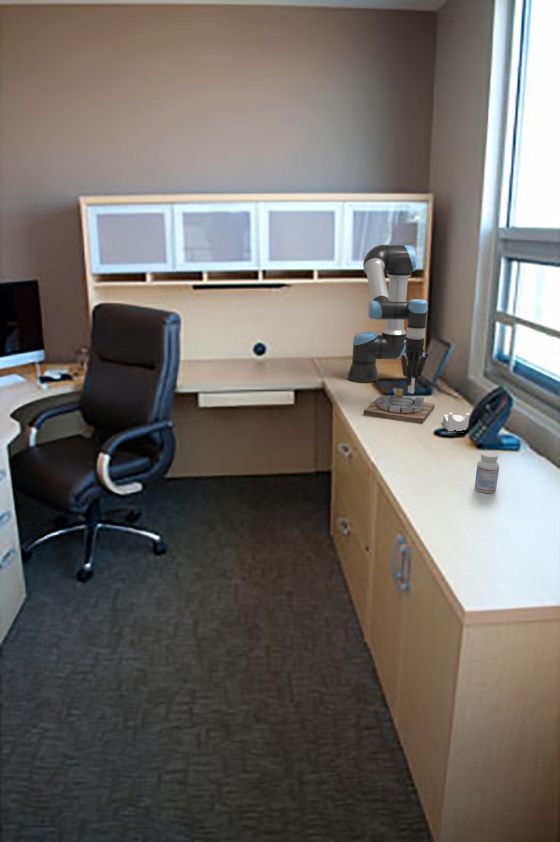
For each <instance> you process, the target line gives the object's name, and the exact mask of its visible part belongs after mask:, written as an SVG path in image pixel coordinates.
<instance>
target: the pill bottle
mask: <svg viewBox="0 0 560 842" xmlns="http://www.w3.org/2000/svg"><path fill="white" fill-rule="evenodd" d="M480 453H481V454H480V460H478V461H477V463H476V464H477V466H476V473H475V480H474V489H475V490H476V491H478V492H480V493H484V494H492V493H495V492H496V491H497V486H498V480H499V479H498V478H499V471H500V463H499V462H498V459H499V458H498V457H499V454H497V453H496V452H493V451H488V450H487V451H486V450H485V451H482V452H480Z"/></svg>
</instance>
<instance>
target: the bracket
mask: <svg viewBox="0 0 560 842" xmlns="http://www.w3.org/2000/svg"><path fill="white" fill-rule="evenodd" d="M469 422H470V414H469V413H468V412H465V414H464V416H463V415H459V414H453V413H452V412H450V411H449V412H448V414H443V419H442V424H443V426H444V428H445V430H446V429H447V430H448V431H454V430H456V431H462V430H466V429H467V427H468V428H469ZM447 430H446V431H447Z"/></svg>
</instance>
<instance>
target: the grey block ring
mask: <svg viewBox="0 0 560 842" xmlns="http://www.w3.org/2000/svg"><path fill="white" fill-rule="evenodd" d="M403 393H404V391H403V388H395V389H394V395H380V396H379V397H380V398H379V397H378V399H377V398H376V399H377V404H376V405H377V406H378V407H379V408H380V409H383V410H386V411H389V412H397V413H400V412H401V413H412V412H413V413H415V412H419V411H422V410H423V409H424V406H425V403H424V402H425V401H424V400H425V397H424V396H423V397H422V396H416V397H412V396H406V395H403ZM392 398H405V399H409V400H412V401H413V405H412V406H396V405H391V404H389V401H390V399H392Z"/></svg>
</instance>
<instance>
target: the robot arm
mask: <svg viewBox="0 0 560 842" xmlns="http://www.w3.org/2000/svg"><path fill="white" fill-rule="evenodd" d="M417 261H418V259H417V253H416V250H415V248H414V246H412V245H408V244H407V245H406V244H379V245H376V246H374V247H373V248H371V249H369V251H368V252H367V254H366V255H365V256H364V259H363V263H362V264H363V265H362V267H363V271H364V273H365V274H366V276H367V277H366V278H367V282H368V286H369V292H370V297H371V298H370V299H371V301H369V302H368V306H367V314H368V318H369V319H372V320H385V328H384V329H382V331H381V334H378V332H377V331H363V332H362V331H361V332H358V333H356V334H355V335H354V336H353V340H352V359H351V366H350V368H349V371H348V373H347V380H348V381H351V382H355V383H363V384H365V383H367V384H369V383H374V382H373V380H377V379H378V380H379V372H378V369H377V359H378V360H400V361H401V371H402V375H403V377H406V386H407V392H408V393H409V394H414V393H415V386H416V385H417V379H418V378H419V377H421V376H422V374H423V370H424V368H425V365H426V360H427V359H428V357H429V353H427V352H424V351H425V350H424V347H425V338H426V337H425V336H426V327H427V326H426V325H427V318H428V317H427V314H428V301H427V300H425V299H420V298H419V299H418V298H417V299H410V300H407V294H408V293H407V292H408V282H409V278H411V276H412V274H413V272H415V271H416V269H417ZM385 272H386V276H387V277H388V278H389V282H388V283H389V284H388V286H387V281H386V277H385ZM406 320H407V323H406V324H407V325H406V330H405V329H404V325H405V321H406Z"/></svg>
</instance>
